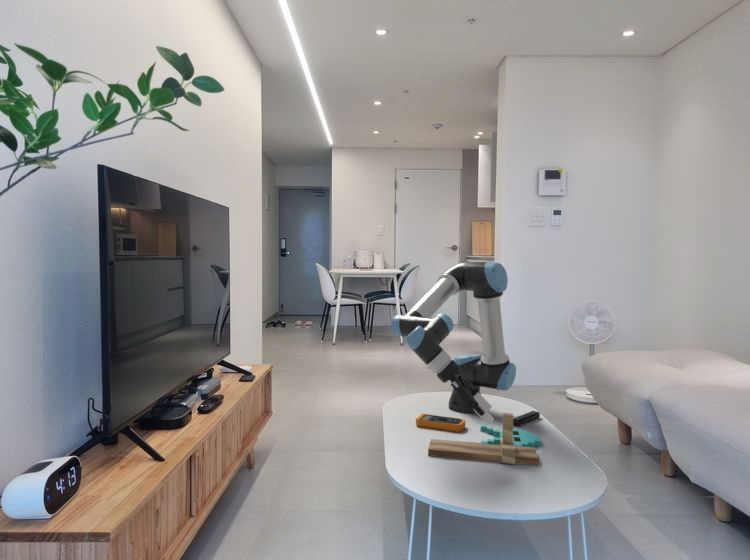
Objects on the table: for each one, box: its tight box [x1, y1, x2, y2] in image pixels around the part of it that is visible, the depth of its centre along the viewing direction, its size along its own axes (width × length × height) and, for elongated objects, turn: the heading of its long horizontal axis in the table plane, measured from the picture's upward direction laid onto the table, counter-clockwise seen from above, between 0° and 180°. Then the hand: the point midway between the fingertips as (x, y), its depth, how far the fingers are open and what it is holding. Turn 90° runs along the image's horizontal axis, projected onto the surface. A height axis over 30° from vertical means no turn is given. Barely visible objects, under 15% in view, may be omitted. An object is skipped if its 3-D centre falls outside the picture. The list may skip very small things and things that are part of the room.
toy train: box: [513, 410, 541, 428], centre depth 198 cm, size 18×3×3 cm, turn 135°
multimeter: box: [415, 413, 466, 433], centre depth 190 cm, size 9×18×3 cm, turn 67°
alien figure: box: [480, 424, 541, 449], centre depth 175 cm, size 20×2×20 cm
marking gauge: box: [499, 412, 516, 465], centre depth 158 cm, size 10×4×13 cm, turn 169°
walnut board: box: [427, 438, 539, 466], centre depth 162 cm, size 10×34×2 cm, turn 78°
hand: (489, 415), depth 160 cm, fingers open, 13 cm apart
